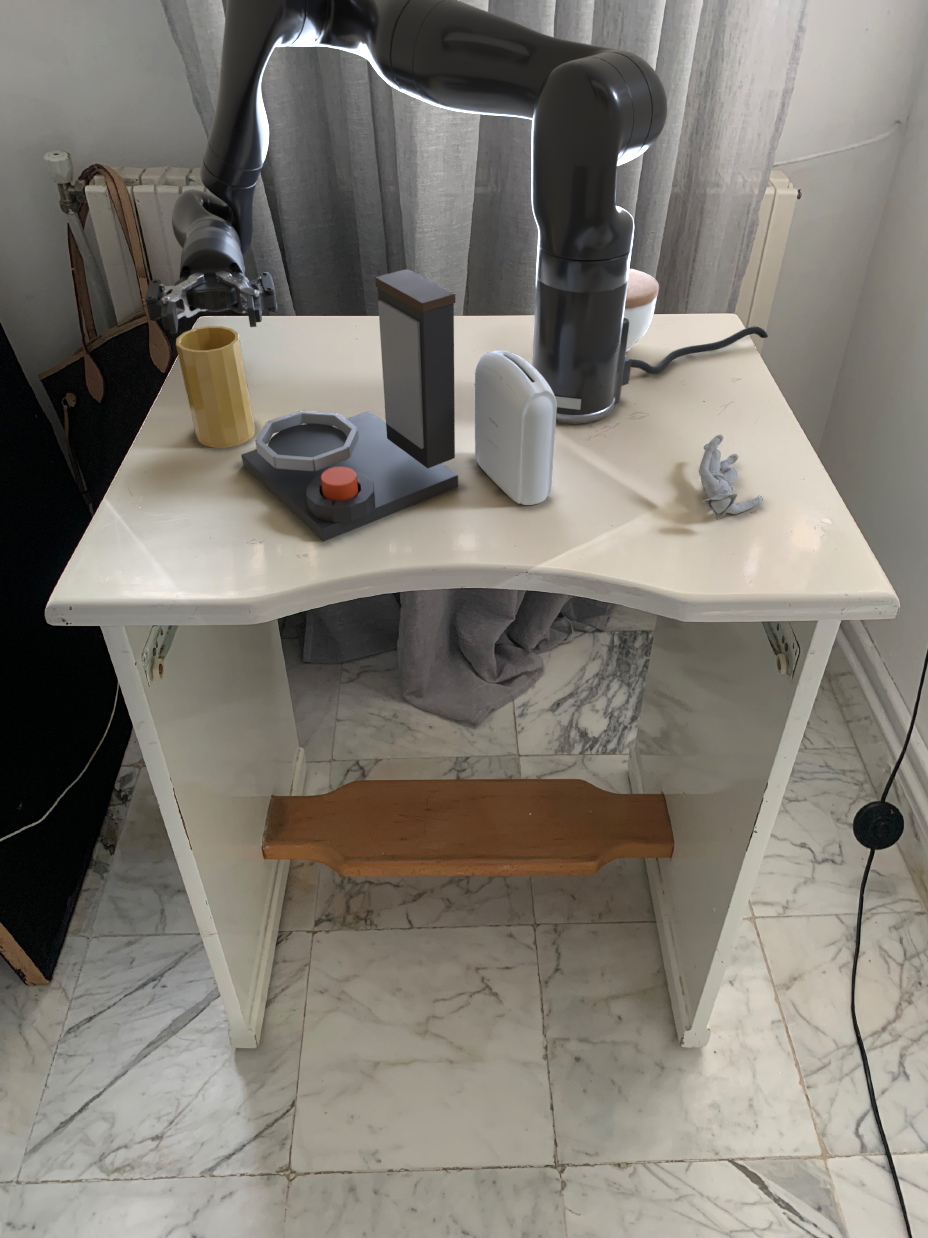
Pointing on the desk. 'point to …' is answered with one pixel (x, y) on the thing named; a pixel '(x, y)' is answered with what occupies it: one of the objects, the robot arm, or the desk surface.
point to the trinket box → (639, 304)
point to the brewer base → (380, 478)
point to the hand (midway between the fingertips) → (212, 321)
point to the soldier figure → (721, 481)
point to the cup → (216, 386)
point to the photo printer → (514, 426)
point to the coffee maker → (388, 386)
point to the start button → (339, 483)
